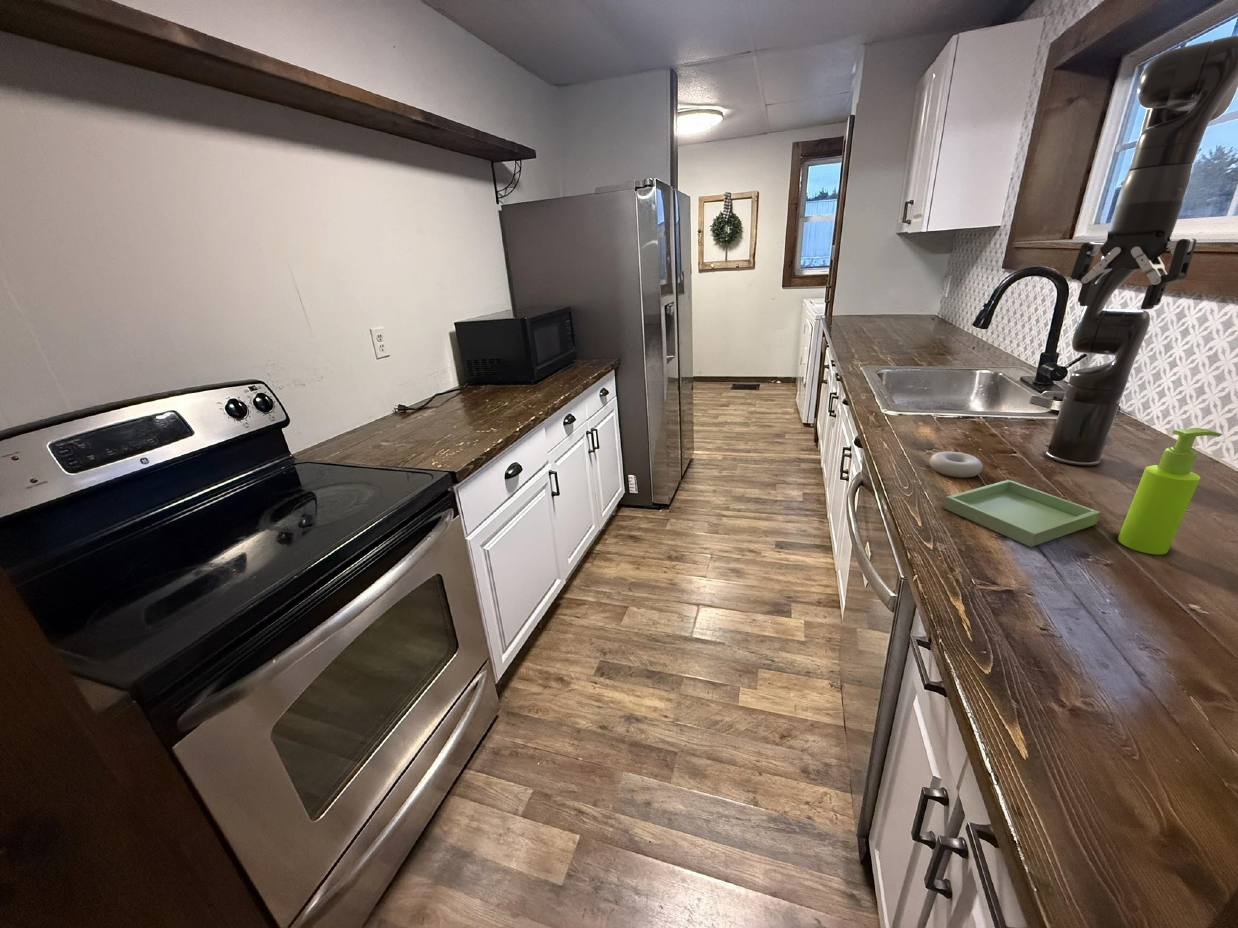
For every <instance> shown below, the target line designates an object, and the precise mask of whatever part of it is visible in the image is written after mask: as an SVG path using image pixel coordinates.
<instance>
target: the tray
mask: <svg viewBox="0 0 1238 928" xmlns="http://www.w3.org/2000/svg"><path fill="white" fill-rule="evenodd" d="M943 509H945V510H946V511H949V512H951V513H953V514H956V515H958V516H960V517H962V518H965V519H966V520H969V521H972V522H974V523H975V524H978V525H981V526H982V527H985V528H987V529H989V530H992V531H993V532H996V533H998V534H1000V535H1003V536H1005V537H1007V538H1009V539H1012V540H1014V541H1016V542H1018V543H1021V544H1023V545H1025V546H1027V547H1030V548H1033V547H1035V546H1038V545H1042V544H1044V543H1046V542H1049V541H1052V540H1055V539H1058V538H1061V537H1064V536H1067V535H1069V534H1072V533H1075V532H1078V531H1081V530H1084V529H1086V528H1089V527H1092V526H1095V525H1097V522H1098V520H1099V517H1100V514H1101V511H1098V510H1096V509H1093V508H1091V507H1088V506H1084V505H1081V504H1079V503H1076V502H1073V501H1071V500H1068V499H1065V498H1063V497H1059V496H1056V495H1054V494H1050V493H1047V492H1045V491H1042V490H1039V489H1037V488H1034V487H1031V486H1028V485H1025V484H1023V483H1020V482H1016V481H1013V480H1010V479H1005V480H1002V481H999V482H998V481H997V482H995V483H991V484H988V485H984V486H980V487H977V488H973V489H970V490H966V491H961V492H959V493H955V494H951V495H948V496H946V497H945V501H944V505H943Z"/></svg>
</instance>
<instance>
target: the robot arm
mask: <svg viewBox="0 0 1238 928" xmlns="http://www.w3.org/2000/svg"><path fill="white" fill-rule="evenodd" d="M1136 86H1137V87H1136V97H1137V98H1136V99H1137V101H1138V104H1139V105H1140V106H1141V107H1142V108H1144V109H1146V111H1145V115H1144V118H1143V121H1142V126H1141V129H1140V133H1139V136H1138V139H1137V142H1136V144H1135V148H1134V151H1133V154H1132V158H1131V160H1130V164H1129V168H1128V171H1127V173H1126V176H1125V178H1124V180H1123V183H1122V185H1121V187H1120V190H1119V193H1118V195H1117V198H1116V201H1115V206H1114V210H1113V213H1112V215H1111V220H1110V223H1109V226H1108V229H1107V235H1106V236H1107V237H1106V238H1105V241H1104V242H1103V243H1098V242H1095V241H1093V242H1092V241H1091V242H1090V241H1089V242H1084V243H1082V245H1081V246H1080V248H1079V251H1078V254H1077V257H1076V260H1075V263H1074V266H1073V268H1072V271H1071V274H1070V279H1071V280H1076V281H1079V282H1080V283H1081V287H1080V291H1079V294H1078V297H1077V303H1079V306H1080V307H1083V308H1082V311H1081V313H1080V316H1079V318H1078V321H1077V323H1076V327H1075V329H1074V332H1073V336H1072V341H1071V347H1072V350H1073V351H1074V352H1076V353H1080V354H1081V353H1082V354H1093V355H1107V356H1114V359H1112V360H1111V361H1109V362H1107V363H1103V364H1100V365H1096V366H1090V367H1084V368H1079V369H1075V370H1073V371H1072V372H1071V373H1070V376H1069V379H1068V383H1067V384H1066V385H1067V386H1066V389H1065V392H1064V394H1063V395H1064V396H1063V399H1062V403H1061V405H1060V408H1059V412H1058V415H1057V418H1056V422H1055V424H1054V428H1053V430H1052V435H1051V438H1050V441H1049V444H1048V448H1047V450H1046V452H1045V456H1047V458H1049V459H1050V460H1053V461H1056V462H1059V463H1064V464H1067V465H1073V466H1081V467H1082V466H1083V467H1091V466H1097V465H1099V464H1100V463H1101V458H1102V455H1103V452H1104V449H1105V446H1106V443H1107V441H1108V438H1109V435H1110V432H1111V429H1112V427H1113V424H1114V421H1115V419H1116V416H1117V413H1118V411H1119V410H1121V401H1122V398H1123V395H1124V392H1125V390H1126V388H1127V387H1126V386H1127V384H1128V381H1129V378H1130V374H1131V372H1132V368H1133V365H1134V363H1135V361H1136V359H1137V356H1138V353H1139V351H1140V349H1141V347H1142V345H1143V342H1144V341H1145V337H1146V335H1147V332H1148V330H1149V326H1150V323H1151V314H1150V313H1149V312H1148V311H1147V310H1152V309H1154V307H1155V306H1158V305H1159V304H1160V303H1161V301H1162V298H1163V296H1164V292H1165V290H1166V287H1167V285H1169V284H1171V283H1172V282H1176V281H1182V280H1184V279H1186V277H1187V276H1188V272H1189V268H1190V265H1191V262H1192V259H1193V256H1194V251H1195V248H1196V245H1197V239H1196V238H1194V237H1192V238H1180V239H1179V240H1171V237H1172V235H1173V232H1174V230H1175V227H1176V224H1177V222H1178V219H1179V215H1180V212H1181V210H1182V207H1183V203H1184V198H1185V195H1186V192H1187V189H1188V186H1189V183H1190V181H1191V180H1190V179H1191V175H1192V174H1191V173H1192V169H1193V164H1194V162H1195V159H1196V156H1197V155H1198V151H1199V147H1200V145H1201V142H1202V139H1203V136H1204V134H1205V132H1206V129H1207V128H1208V125H1209V123H1210V122H1212V121H1215V120H1217V119H1219V118H1220V117H1222V116H1223V115H1224V114H1225V113H1226V112H1227V110H1228V109H1229V108H1230V106H1231V104H1233V101H1234V98H1235V96H1236V93H1237V91H1238V35H1232V36H1231V35H1230V36H1226V37H1222V38H1218V39H1217V38H1216V39H1213V40H1208V41H1204V42H1200V43H1195V44H1190V45H1187V46H1181V47H1177V48H1173V49H1170V50H1167V51H1164V52H1163V53H1160V54H1159V55H1157V56H1156V57H1154V58H1153V59H1152V60H1151V61H1150V63H1148V64H1147V65H1146V67H1145V68H1144V70H1143V72H1142V73H1141V75H1140V77H1139V79H1138V82H1137V85H1136ZM1168 250H1170V251H1169V253H1170V254H1171V255H1172V259H1171V262H1170V266H1169V270H1168V272H1167V271H1166V266H1165V264H1164V262H1163V261H1162V259H1161V256H1162V255H1163V254H1164V253H1166V251H1168ZM1099 252H1100V253H1101V258H1100V261H1098V262H1097V263H1096V264H1095V265H1094V266H1093V267H1092V268H1091V266H1092V264H1093V261H1094V257H1096V256H1098V254H1099ZM1090 269H1091V270H1090ZM1137 270H1141V272H1142V273H1143V274H1145V275H1146V277H1147V279H1149V282H1150V284H1148V285H1147V288H1146V292H1145V294H1144V297H1143V300H1142V303H1141V306H1140V309H1121V308H1120V309H1117V308H1105V307H1106V305H1107V303H1108V302H1109V299H1110V298H1111V297H1112V295H1113V294H1114V292H1115V291H1116V290H1117V289H1118V288H1119V287H1120V286H1121V285H1122V284H1123V283H1124V282H1125V281H1126V280H1127V279H1128V278H1129V277H1130V276H1131V275H1133V274H1134V273H1135V272H1136V271H1137ZM1119 404H1120V406H1119Z"/></svg>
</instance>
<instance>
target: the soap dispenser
mask: <svg viewBox="0 0 1238 928" xmlns="http://www.w3.org/2000/svg"><path fill="white" fill-rule="evenodd" d="M1172 434H1173V435H1175V436H1176V435H1177V436H1178V437H1177V440H1176V442H1175V444H1174V446H1170V447H1166V448H1164V451H1163V453H1162V456H1161V458H1160V461H1159V463H1158V464H1154V465H1152V464H1151V465H1147V466H1145V468H1144V471H1143V473H1142V476H1141V478H1140V481H1139V484H1138V486H1137V488H1136V492H1134V493H1135V494H1134V495H1133V499H1132V501H1131V504H1130V506H1129V509H1128V511H1127V513H1126V516H1125V519H1124V521H1123V524H1122V527H1121V530H1120V532H1119V535H1118V537H1117V541H1118V543H1120V544H1121V545H1123V546H1124V547H1126V548H1129V549H1130V550H1133V551H1136V552H1140V553H1143V554H1149V555H1165V554H1167V553H1168V552H1169V550H1170V547H1171V546H1172V543H1173V541H1174V539H1175V536H1176V534H1177V532H1178V530H1179V528H1180V525H1181V523H1182V521H1183V518H1184V517H1185V514H1186V511H1187V510H1188V507H1189V505H1190V503H1191V500H1192V498H1193V496H1194V493H1195V491H1196V489H1197V488H1198V487H1197V486H1198V485H1199V482H1200V480H1201V476H1200V475H1199V474H1198V473H1195V472H1194V471H1191V470H1192V468H1193V466H1194V464H1195V461H1196V458H1197V456H1198V453H1197V452H1196V451H1195V450H1193V449H1192V447H1193V445H1194V442H1195V440H1196V439H1197V437H1206V436H1208V437H1209V436H1210V437H1217V438H1219V437H1221V436H1222V435H1223V433H1222V432H1217V431H1213V430H1210V429H1208V428H1207V429H1206V428H1203V427H1186V428H1185V427H1184V428H1177V429H1176V428H1175V429H1173V431H1172Z"/></svg>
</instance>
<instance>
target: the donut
mask: <svg viewBox="0 0 1238 928" xmlns="http://www.w3.org/2000/svg"><path fill="white" fill-rule="evenodd" d="M929 465H930V468H931V469H932V470H933V471H935V472H937V473H939V474H940V475H944V476H947V477H953V478H960V479H961V478H962V479H963V478H964V479H965V478H972V477H976V476H978V475H980V474H981V473H982V472H983V469H984V468H983V467H984V464H983V462H982V461H981V460H980V459H979V458H977V457H975V456H974V455H972V454H970V453H969V454H968V453H965V452H960V451H951V450H950V451H940V452H939V451H938V452H937V453H935V454H933V455H932V456H931V457H930V459H929Z"/></svg>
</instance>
